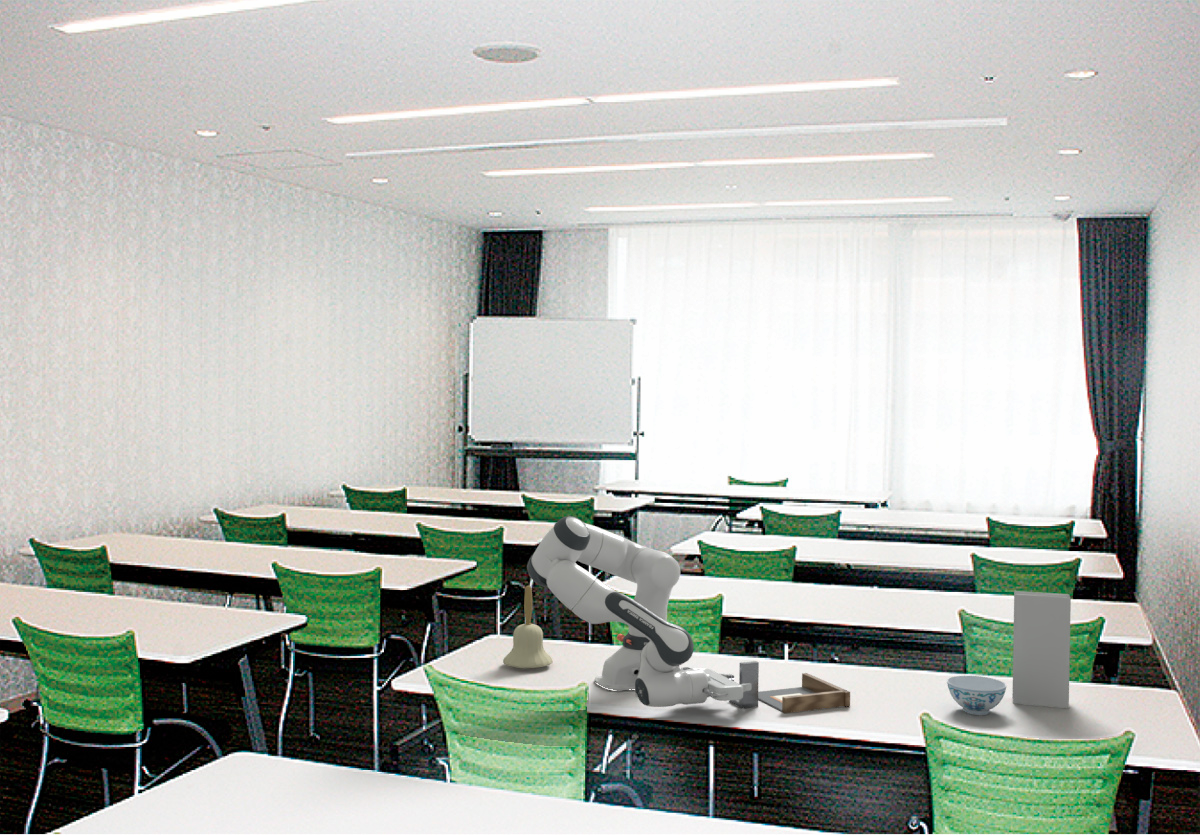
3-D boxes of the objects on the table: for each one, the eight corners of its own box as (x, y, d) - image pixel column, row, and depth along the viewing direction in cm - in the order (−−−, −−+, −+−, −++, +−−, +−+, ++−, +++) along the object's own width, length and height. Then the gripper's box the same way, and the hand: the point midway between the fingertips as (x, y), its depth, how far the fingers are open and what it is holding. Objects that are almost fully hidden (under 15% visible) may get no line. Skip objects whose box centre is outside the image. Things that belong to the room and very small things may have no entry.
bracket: (758, 706, 300) (758, 662, 300) (741, 708, 298) (742, 663, 298) (745, 699, 307) (745, 656, 306) (729, 701, 305) (729, 658, 304)
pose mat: (781, 711, 296) (781, 709, 296) (747, 694, 312) (747, 692, 312) (839, 704, 302) (839, 703, 302) (803, 688, 319) (803, 686, 319)
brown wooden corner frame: (786, 714, 293) (786, 699, 293) (746, 693, 313) (746, 679, 313) (850, 706, 301) (850, 691, 301) (806, 686, 321) (806, 673, 321)
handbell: (492, 666, 342) (493, 584, 342) (531, 658, 352) (531, 579, 352) (524, 675, 331) (524, 591, 330) (563, 667, 341) (563, 586, 341)
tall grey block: (1067, 703, 306) (1069, 594, 305) (1069, 708, 301) (1071, 597, 300) (1012, 698, 310) (1014, 590, 310) (1012, 703, 305) (1014, 594, 305)
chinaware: (963, 700, 308) (963, 672, 308) (1015, 711, 297) (1016, 683, 297) (936, 710, 297) (936, 682, 297) (989, 723, 287) (990, 693, 287)
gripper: (713, 684, 284) (761, 679, 289) (678, 665, 303) (723, 661, 308) (713, 708, 284) (760, 703, 289) (678, 688, 303) (723, 684, 308)
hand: (741, 681), depth 299 cm, fingers open, 8 cm apart
